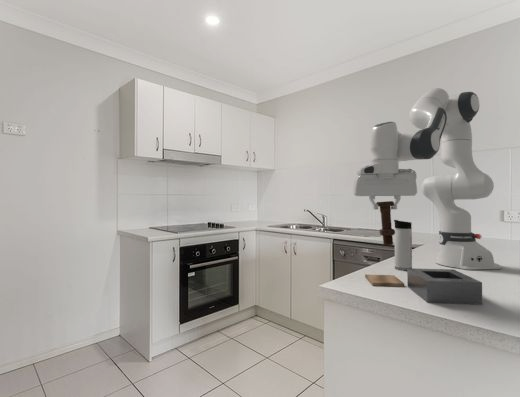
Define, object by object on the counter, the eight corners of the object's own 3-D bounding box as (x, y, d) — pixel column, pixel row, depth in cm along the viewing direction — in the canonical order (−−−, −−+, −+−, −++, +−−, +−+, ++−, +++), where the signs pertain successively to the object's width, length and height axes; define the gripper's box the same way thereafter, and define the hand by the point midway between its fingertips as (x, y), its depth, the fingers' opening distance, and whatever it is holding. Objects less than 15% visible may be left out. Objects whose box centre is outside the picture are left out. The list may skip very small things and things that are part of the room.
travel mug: (390, 267, 118) (390, 219, 118) (405, 266, 119) (405, 219, 119) (399, 271, 112) (399, 220, 112) (415, 270, 112) (415, 220, 112)
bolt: (399, 245, 94) (395, 200, 95) (383, 246, 95) (379, 201, 96) (393, 243, 100) (389, 201, 101) (378, 244, 100) (374, 202, 101)
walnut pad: (393, 278, 102) (393, 275, 102) (404, 286, 93) (404, 283, 93) (365, 277, 104) (365, 274, 104) (372, 285, 94) (372, 282, 94)
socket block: (453, 288, 91) (453, 269, 91) (482, 304, 77) (482, 282, 77) (407, 286, 92) (407, 268, 92) (427, 302, 79) (426, 280, 79)
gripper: (412, 169, 100) (412, 208, 100) (352, 170, 102) (352, 209, 102) (420, 167, 93) (420, 209, 93) (356, 169, 96) (356, 209, 96)
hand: (384, 209), depth 98 cm, fingers closed on bolt, 5 cm apart
